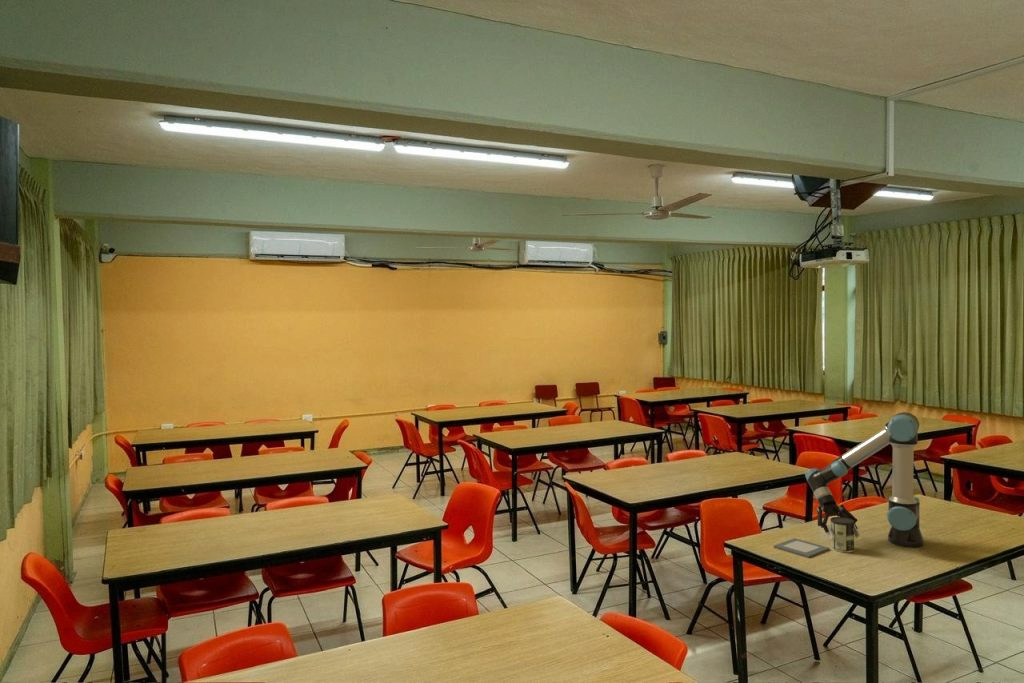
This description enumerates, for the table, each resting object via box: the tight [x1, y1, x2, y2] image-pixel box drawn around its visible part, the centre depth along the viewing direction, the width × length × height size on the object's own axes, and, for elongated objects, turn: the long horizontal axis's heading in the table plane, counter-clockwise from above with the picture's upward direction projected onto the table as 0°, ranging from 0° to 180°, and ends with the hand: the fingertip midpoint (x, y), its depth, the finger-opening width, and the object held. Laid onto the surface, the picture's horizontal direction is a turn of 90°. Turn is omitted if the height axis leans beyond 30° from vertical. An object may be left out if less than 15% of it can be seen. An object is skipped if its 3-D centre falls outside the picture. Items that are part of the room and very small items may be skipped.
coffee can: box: [830, 516, 855, 553], centre depth 318 cm, size 10×10×14 cm
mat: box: [773, 537, 831, 559], centre depth 319 cm, size 18×18×1 cm
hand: (845, 537), depth 316 cm, fingers open, 13 cm apart
